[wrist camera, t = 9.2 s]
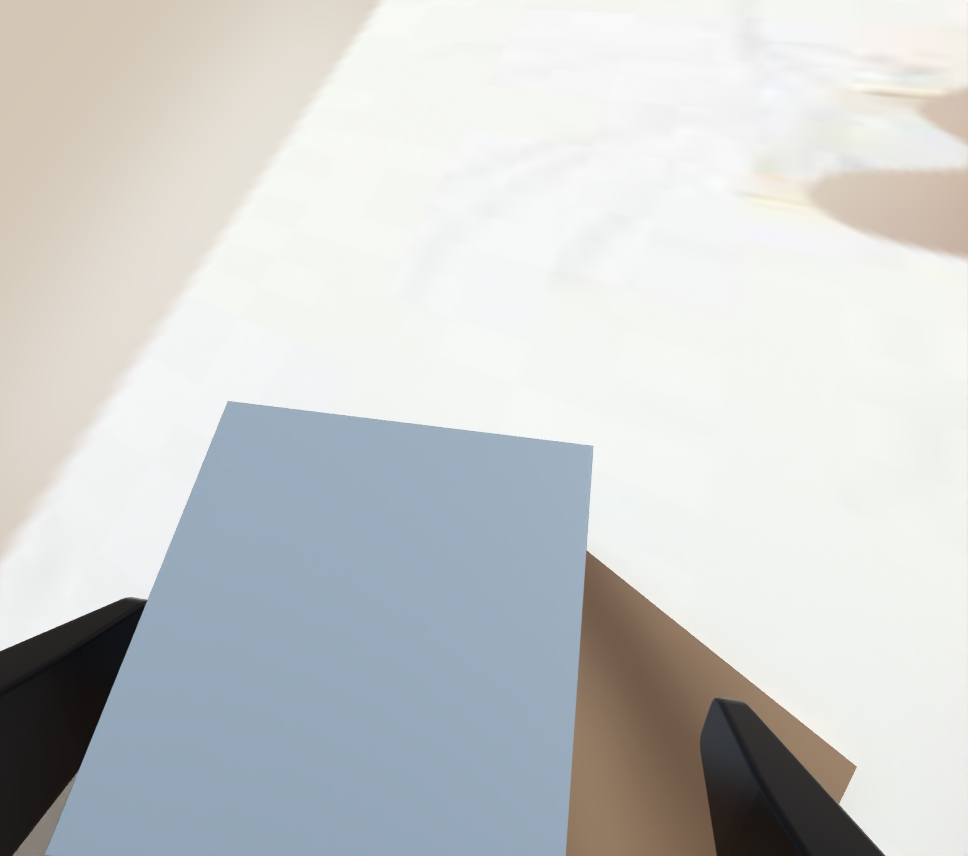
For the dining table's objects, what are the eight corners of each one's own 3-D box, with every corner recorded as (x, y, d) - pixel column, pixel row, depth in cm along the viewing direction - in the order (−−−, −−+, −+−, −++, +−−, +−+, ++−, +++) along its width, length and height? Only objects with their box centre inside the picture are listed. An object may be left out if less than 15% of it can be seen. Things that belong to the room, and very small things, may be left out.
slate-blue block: (519, 711, 15) (557, 975, 3) (397, 689, 16) (44, 854, 4) (533, 581, 17) (593, 445, 5) (421, 564, 17) (228, 400, 5)
